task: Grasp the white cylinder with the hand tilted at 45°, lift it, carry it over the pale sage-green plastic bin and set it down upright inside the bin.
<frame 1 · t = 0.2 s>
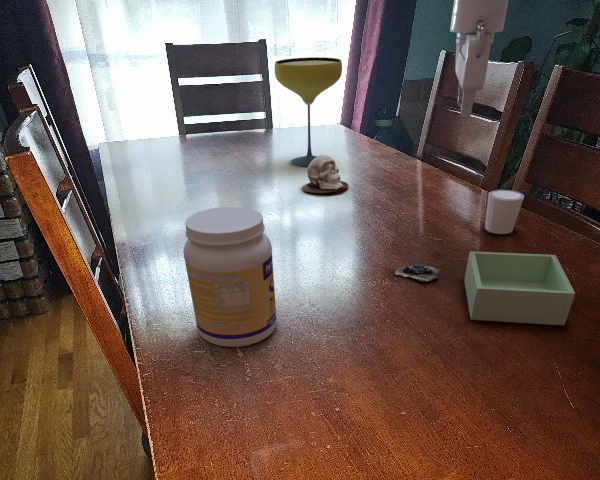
hand: (463, 110, 96), 21 cm above the table, tool pointing down, fingers open, 8 cm apart
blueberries: (416, 275, 91), on the table
supplement tub: (237, 329, 78), on the table
skull: (324, 189, 131), on the table
cocktail glass: (309, 162, 151), on the table
white cylinder: (498, 229, 107), on the table
bin: (510, 301, 82), on the table
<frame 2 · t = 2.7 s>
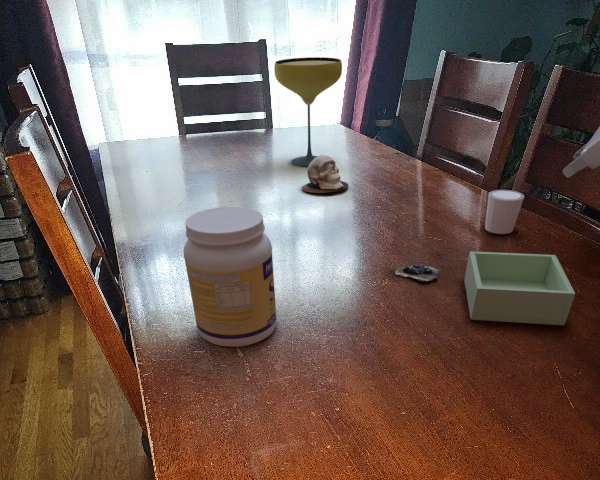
hand: (570, 166, 94), 13 cm above the table, tool tilted 40°, fingers open, 8 cm apart
nothing on the table moved.
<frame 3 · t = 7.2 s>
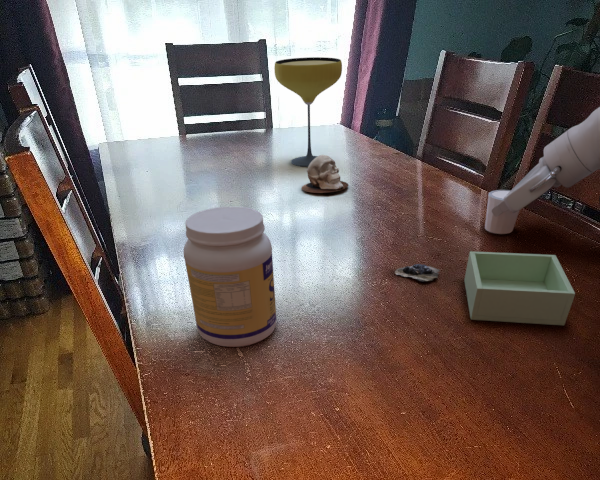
hand: (500, 206, 104), 4 cm above the table, tool tilted 45°, fingers closed on white cylinder, 7 cm apart
white cylinder: (498, 229, 107), on the table, touching gripper
everything else where it was.
when the fingers open (5 cm above the table, at t = 19.7 s): white cylinder stays where it is, resting on bin.
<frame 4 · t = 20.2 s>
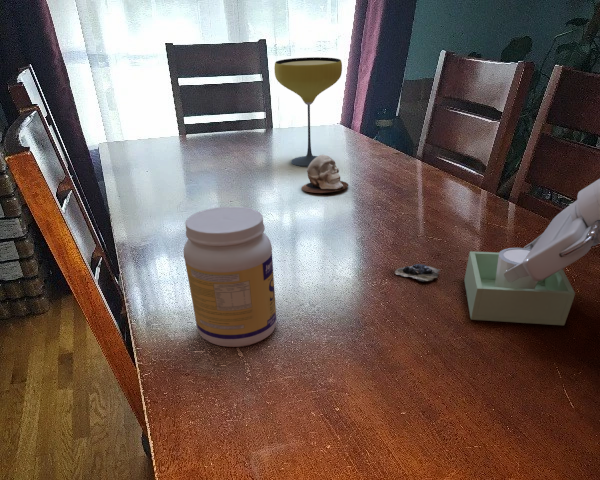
hand: (515, 265, 79), 6 cm above the table, tool tilted 45°, fingers open, 8 cm apart
white cylinder: (511, 298, 82), point 1 cm above the table, touching bin
everything else where it was.
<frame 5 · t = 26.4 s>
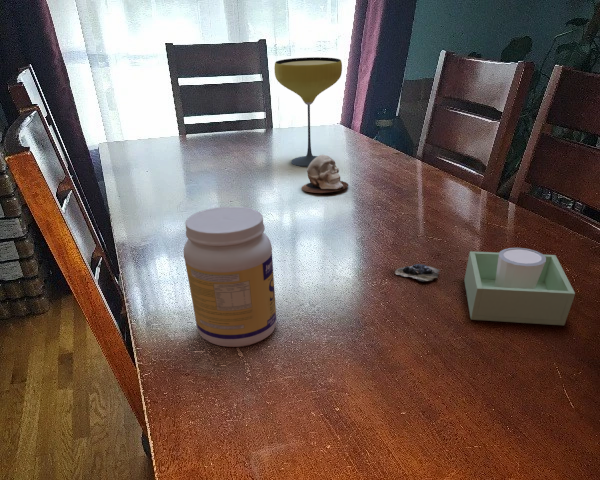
nothing on the table moved.
at the end: white cylinder inside the target area in the bin (0.2 cm from its centre), point 0.6 cm above the bin's base; white cylinder tilted 0°; the gripper is holding nothing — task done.
